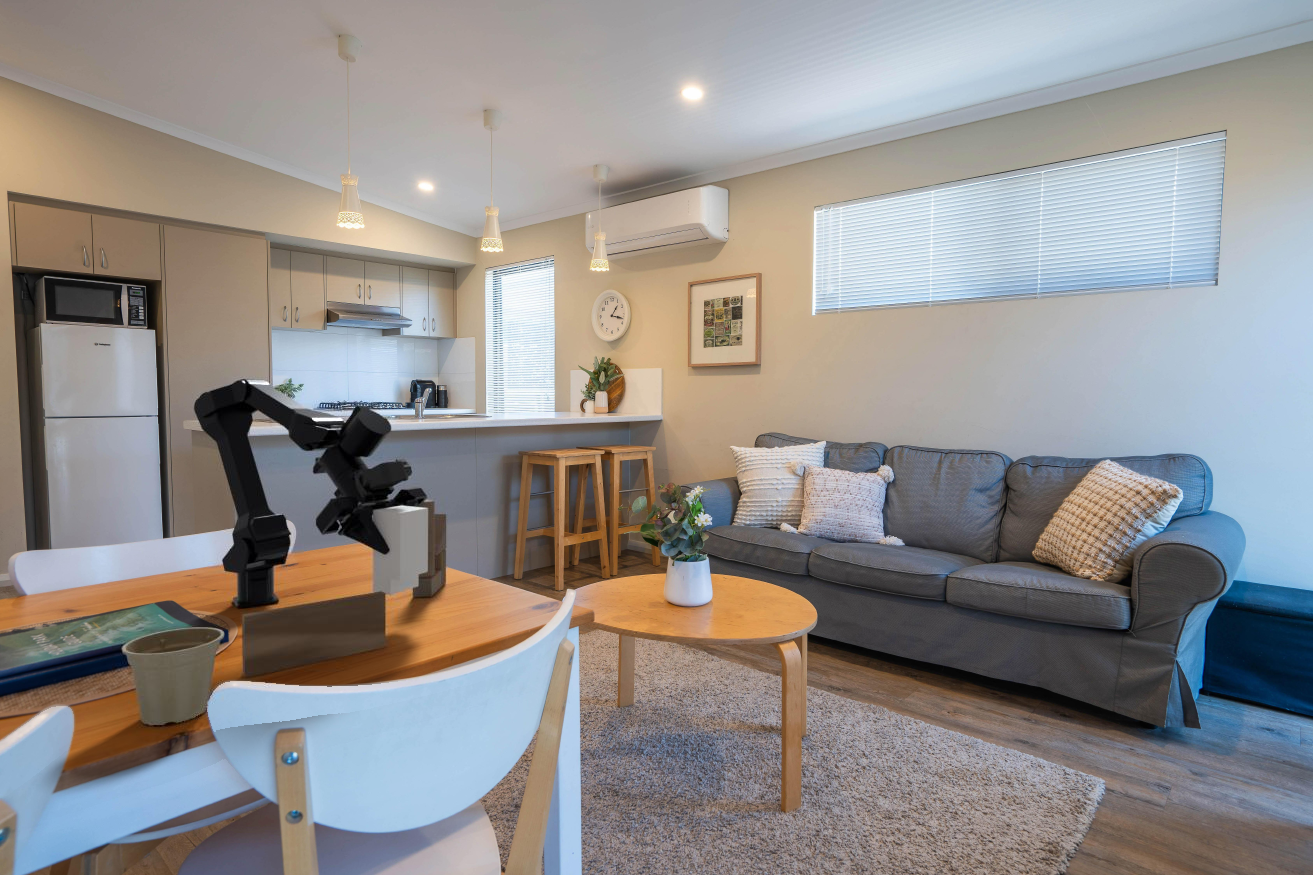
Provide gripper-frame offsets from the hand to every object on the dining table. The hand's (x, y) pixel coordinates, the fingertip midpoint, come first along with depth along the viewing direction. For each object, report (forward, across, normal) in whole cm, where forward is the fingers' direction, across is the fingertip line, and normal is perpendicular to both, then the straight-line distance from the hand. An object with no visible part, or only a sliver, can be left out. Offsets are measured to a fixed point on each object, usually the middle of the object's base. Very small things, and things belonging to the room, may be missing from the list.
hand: (402, 549), depth 108 cm
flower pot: (+9, -34, +10) cm, 37 cm away
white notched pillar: (+4, 0, +5) cm, 7 cm away
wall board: (+9, -16, +9) cm, 20 cm away
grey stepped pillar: (+1, +20, +18) cm, 27 cm away
